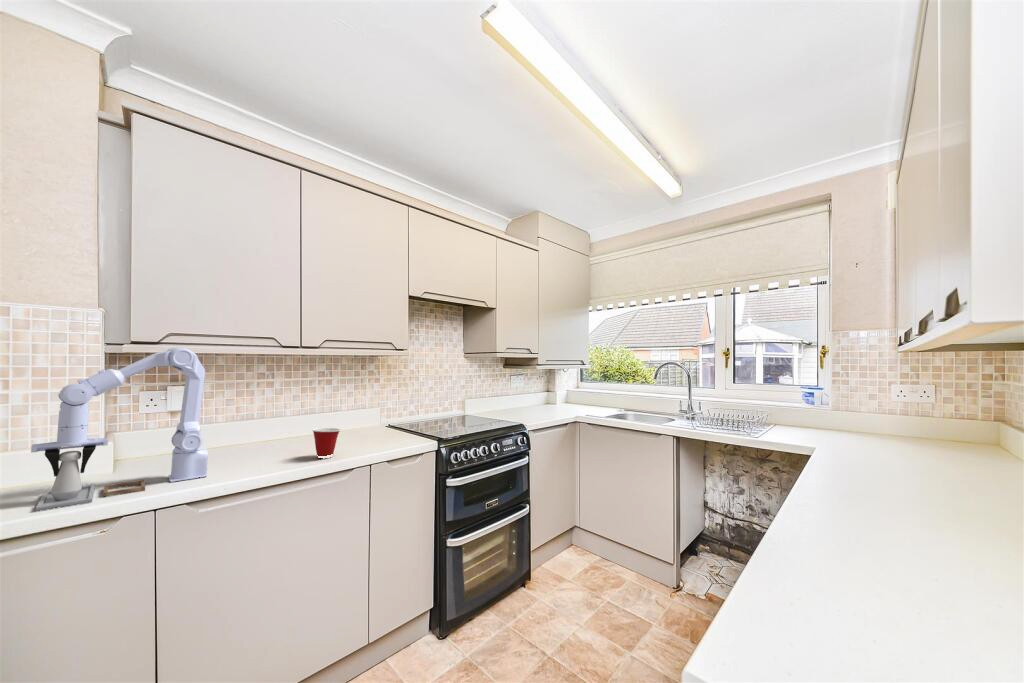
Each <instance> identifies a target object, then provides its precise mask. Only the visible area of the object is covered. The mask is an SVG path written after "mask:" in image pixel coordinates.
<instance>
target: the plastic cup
mask: <svg viewBox="0 0 1024 683" xmlns="http://www.w3.org/2000/svg"><path fill="white" fill-rule="evenodd" d="M311 430H312V433H313V438H314V443H315V451H316V456H317V455H318V456H327V455H331V454H333V455H334V452H335V448H336V445H337V440H338V435H339V433H340V431H341V428H336V427H335V428H334V427H322V428H321V427H319V428H313V429H311Z"/></svg>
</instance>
